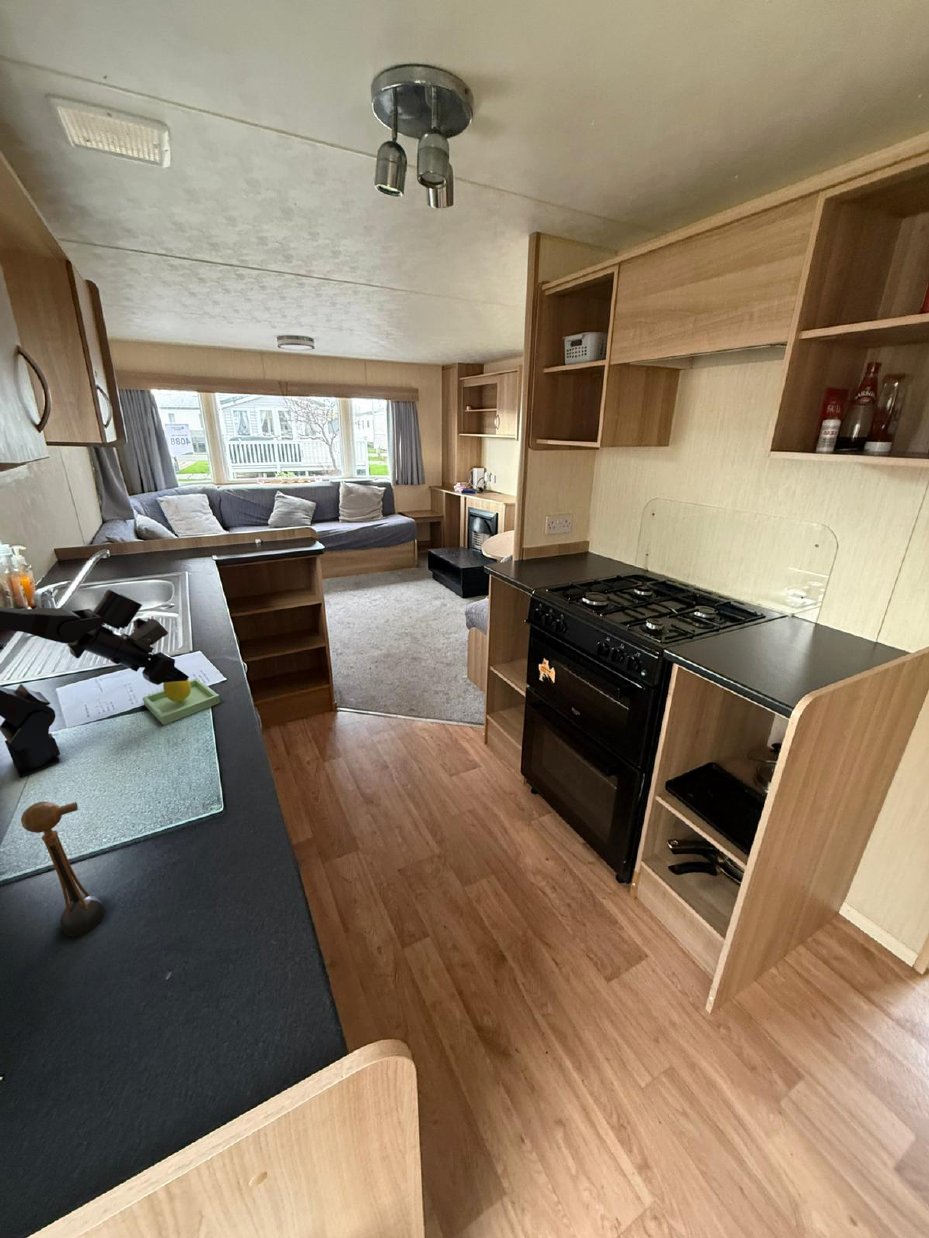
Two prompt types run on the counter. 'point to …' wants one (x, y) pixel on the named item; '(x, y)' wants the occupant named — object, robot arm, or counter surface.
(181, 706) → the tray
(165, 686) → the lemon
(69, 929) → the wooden tabletop sculpture
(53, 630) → the robot arm
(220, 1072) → the counter surface
